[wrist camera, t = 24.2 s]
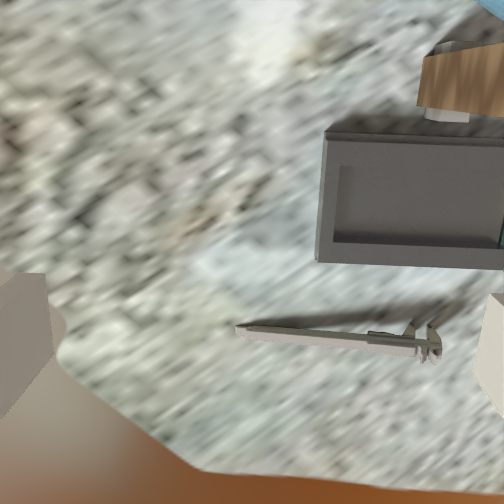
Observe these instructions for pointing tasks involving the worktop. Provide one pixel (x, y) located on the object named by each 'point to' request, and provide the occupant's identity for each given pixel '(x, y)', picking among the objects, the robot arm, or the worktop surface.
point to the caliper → (353, 340)
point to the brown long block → (462, 81)
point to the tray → (502, 235)
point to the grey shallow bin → (411, 201)
